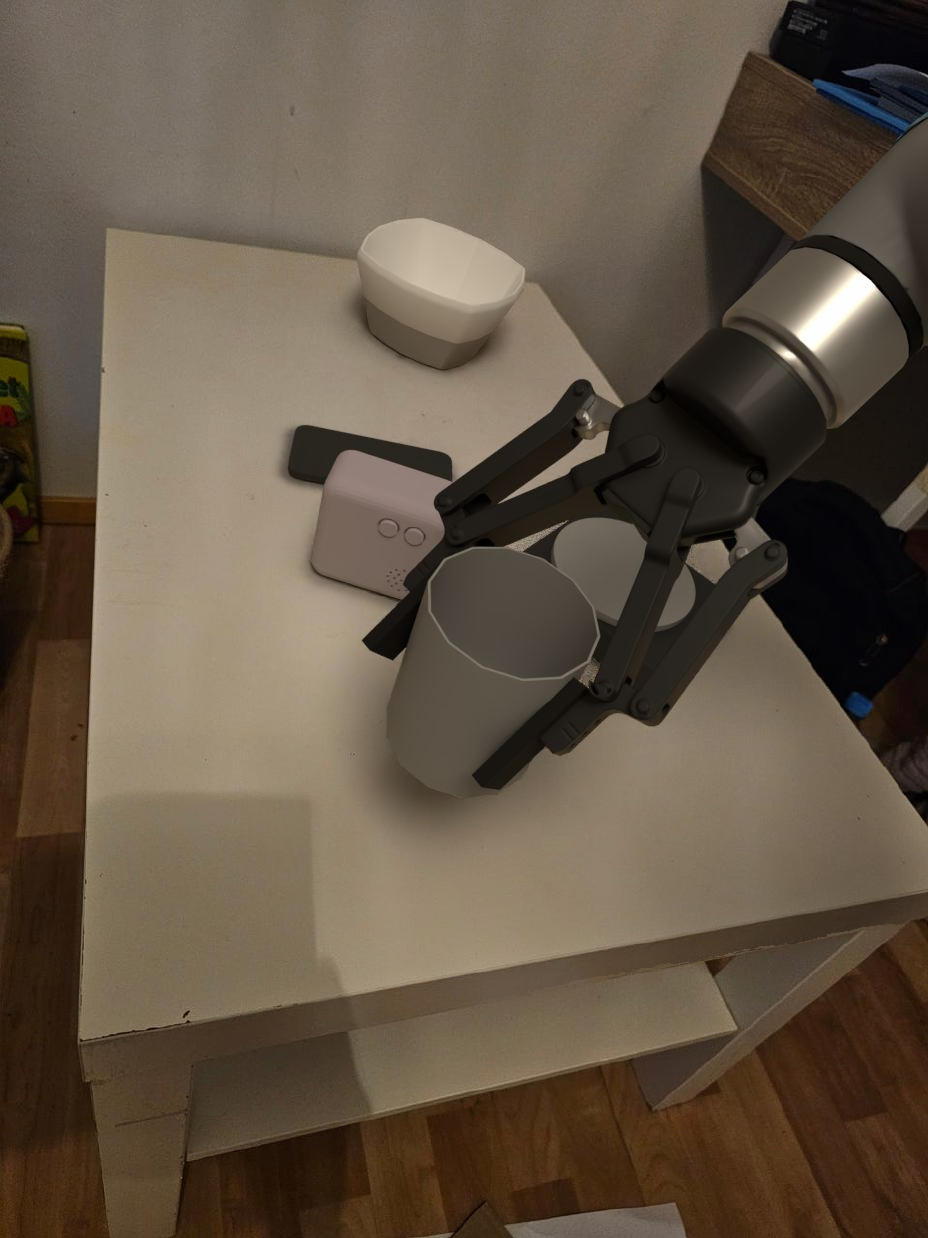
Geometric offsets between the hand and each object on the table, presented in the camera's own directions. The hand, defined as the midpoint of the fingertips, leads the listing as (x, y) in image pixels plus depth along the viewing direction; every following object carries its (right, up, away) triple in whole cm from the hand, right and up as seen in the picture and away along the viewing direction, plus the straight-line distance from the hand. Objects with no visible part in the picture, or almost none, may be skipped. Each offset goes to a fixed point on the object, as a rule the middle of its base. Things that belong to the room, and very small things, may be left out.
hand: (429, 713), depth 41 cm
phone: (-7, +19, +37) cm, 42 cm away
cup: (+1, -2, +5) cm, 5 cm away
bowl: (-3, +37, +56) cm, 67 cm away
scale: (+15, +6, +33) cm, 37 cm away
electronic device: (-6, +8, +27) cm, 29 cm away
